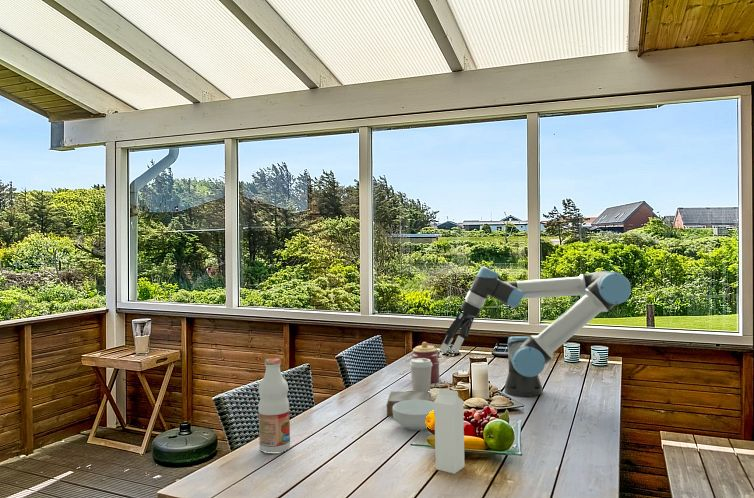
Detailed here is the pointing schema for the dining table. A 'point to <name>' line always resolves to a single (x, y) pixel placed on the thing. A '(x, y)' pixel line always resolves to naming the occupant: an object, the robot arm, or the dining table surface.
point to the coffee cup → (421, 374)
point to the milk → (449, 431)
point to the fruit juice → (273, 409)
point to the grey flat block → (405, 398)
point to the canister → (428, 353)
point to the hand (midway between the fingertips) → (448, 351)
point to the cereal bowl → (412, 413)
